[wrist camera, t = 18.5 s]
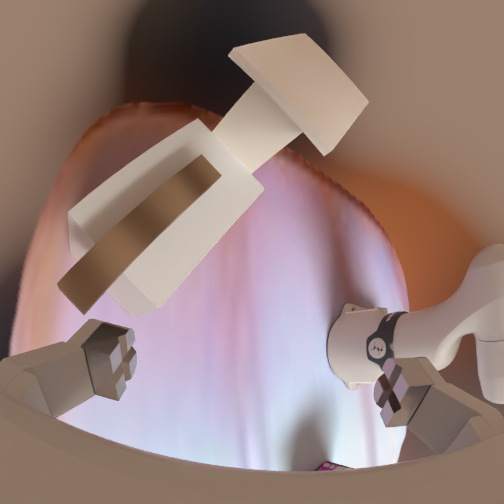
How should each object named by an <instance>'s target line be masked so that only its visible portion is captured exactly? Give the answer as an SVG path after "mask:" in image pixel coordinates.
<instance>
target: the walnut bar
mask: <svg viewBox="0 0 504 504" xmlns="http://www.w3.org/2000/svg"><path fill="white" fill-rule="evenodd" d="M221 176H222V175H221V174H220V173H219V172H218V171H217V170H216V169H215V168H214V167H213V166H212V165H211V164H210V163H209V161H208V160H207V159H206V158H205V157H204V156H203V155H202V154H201V155H200V156H198V157H197V158H196V159H194V160H193V161H192V162H191V163H189V164H188V165H187V166H185V167H184V168H183V169H181V170H180V171H179V172H178V173H176V174H175V175H174V176H173V177H171V178H170V179H169V180H168V181H166V182H165V183H164V184H163V185H161V186H160V187H159V188H158V189H157V190H155V191H154V192H153V193H152V194H151V195H149V196H148V197H147V198H146V199H145V200H144V201H142V202H141V203H140V204H139V205H138V206H137V207H135V208H134V209H133V210H132V211H131V212H130V213H129V214H128V215H126V216H125V217H124V218H123V219H122V220H121V221H120V222H119V223H118V224H116V225H115V226H114V227H113V228H112V229H111V230H110V231H109V232H108V233H107V234H106V235H105V236H104V237H102V238H101V239H100V240H99V241H98V242H97V243H96V244H95V245H94V246H93V247H92V248H91V249H90V250H89V251H88V252H87V253H86V254H85V255H84V256H83V257H82V258H81V259H80V260H79V261H78V262H77V263H76V264H75V265H74V266H73V267H72V268H71V269H70V270H69V271H68V272H67V273H66V274H65V275H64V277H63V278H62V279H61V280H60V281H59V282H58V283H57V285H58V287H59V289H60V290H61V291H62V292H63V294H64V295H65V296H66V297H67V298H68V299H69V300H70V301H71V302H72V303H73V304H74V305H75V306H76V307H77V308H78V310H79V311H80V312H81V313H82V314H83V315H85V314H86V313H87V312H88V310H89V309H90V308H91V307H92V306H93V305H94V304H95V303H96V301H97V300H98V299H99V298H100V297H101V296H102V295H103V294H104V293H105V291H106V290H107V289H108V288H109V287H110V286H111V285H112V284H113V283H114V282H115V281H116V280H117V278H118V277H119V276H120V275H121V274H122V273H123V272H124V271H125V270H126V269H127V268H128V267H129V266H130V265H131V264H132V263H133V262H134V261H135V260H136V259H137V258H138V257H139V256H140V254H141V253H142V252H143V251H144V250H145V249H146V248H147V247H148V246H149V245H150V244H151V243H152V242H153V241H154V240H155V239H156V238H157V237H158V236H159V235H160V234H161V233H162V232H164V231H165V230H166V229H167V228H168V227H169V226H170V225H171V224H172V223H173V222H174V221H175V220H176V219H177V218H178V217H179V216H180V215H181V214H182V213H183V212H184V211H185V210H186V209H188V208H189V207H190V206H191V205H192V204H193V203H194V202H195V201H196V200H197V199H198V198H199V197H200V196H202V195H203V194H204V193H205V192H206V191H207V190H208V189H209V188H210V187H211V186H212V185H213V184H214V183H215V182H216V181H217V180H218V179H219V178H220V177H221Z"/></svg>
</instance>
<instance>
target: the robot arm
mask: <svg viewBox="0 0 504 504" xmlns="http://www.w3.org/2000/svg"><path fill="white" fill-rule="evenodd" d="M469 333H474V335H475V338H476V348H477V362H478V375H479V379H480V384H481V388H482V391H483V395H484V397H485V398H486V399H487V400H489V401H491V402H493V403H498V404H504V244H496V245H492V246H489V247H487V248H485V249H483V250H482V251H481V252H479V253H478V254H477V255H476V257H475V258H474V259H473V261H472V262H471V264H470V266H469V268H468V271H467V274H466V277H465V279H464V281H463V282H462V284H461V286H460V287H459V289H458V290H457V291H456V292H455V293H454V294H453V295H452V296H451V297H450V298H449V299H448V300H446V301H445V302H443V303H441V304H439V305H437V306H434V307H431V308H427V309H424V310H420V311H415V312H410V313H408V312H405V311H403V312H394V313H390V314H388V313H387V308H374V309H367V308H364V307H360V306H357V305H353V304H345V305H344V307H343V310H342V313H341V315H340V317H339V318H338V319H337V320H336V322H335V323H334V325H333V326H332V329H331V331H330V334H329V338H328V359H329V363H330V366H331V368H332V370H333V372H334V373H335V375H336V376H337V377H338V378H340V379H341V380H343V381H344V382H345V384H346V386H347V388H348V389H349V390H355V389H357V388H358V387H360V386H361V385H363V384H364V383H376V384H375V386H374V399H375V402H376V404H377V405H378V406H379V407H381V408H382V410H381V413H380V415H381V417H382V419H383V422H384V424H385V427H397V426H407V427H408V428H409V429H410V430H411V431H412V432H413V433H414V434H416V435H417V436H418V437H419V438H420V439H421V440H422V441H423V442H424V443H426V444H427V445H428V446H429V447H430V448H431V449H432V450H433V451H435V452H436V453H437V454H438V455H434V456H430V457H426V458H421V459H417V460H411V461H406V462H401V463H395V464H389V465H383V466H375V467H367V468H358V469H347V470H332V471H268V470H253V469H242V468H233V467H224V466H217V465H210V464H204V463H198V462H192V461H187V460H182V459H177V458H173V457H168V456H164V455H160V454H155V453H152V452H148V451H144V450H140V449H137V448H133V447H130V446H127V445H123V444H120V443H117V442H114V441H111V440H108V439H105V438H102V437H100V436H97V435H94V434H91V433H89V432H86V431H84V430H81V429H79V428H76V427H74V426H71V425H69V424H67V423H64V422H62V421H60V420H58V419H56V417H58V416H60V415H62V414H64V413H65V412H67V411H69V410H71V409H72V408H74V407H76V406H78V405H79V404H81V403H83V402H85V401H86V400H88V399H90V398H91V397H93V396H95V394H96V395H99V396H102V397H106V398H109V399H113V400H116V401H119V400H120V398H121V396H122V394H123V393H124V391H125V389H126V383H125V381H128V380H130V379H131V378H132V376H133V374H134V372H135V368H136V363H137V355H136V351H135V350H134V348H133V347H132V345H133V343H134V342H135V335H134V331H133V330H132V329H130V328H126V327H122V326H118V325H115V324H111V323H107V322H103V321H99V320H95V319H89V320H88V321H87V322H86V323H85V324H84V325H83V326H82V327H81V328H80V329H79V330H78V331H77V332H76V333H75V334H74V335H73V336H72V337H71V338H70V339H69V340H68V341H67V342H66V343H65V342H59V343H56V344H52V345H49V346H45V347H42V348H39V349H35V350H32V351H29V352H25V353H22V354H18V355H15V356H11V357H8V358H4V359H3V360H2V361H1V362H0V504H504V418H503V417H502V416H501V414H500V413H499V412H498V410H497V409H495V408H493V407H491V406H490V405H488V404H486V403H484V402H482V401H481V400H479V399H477V398H475V397H473V396H472V395H470V394H468V393H466V392H464V391H463V390H461V389H459V388H457V387H455V386H453V385H452V384H450V383H447V384H446V382H445V381H444V380H443V378H442V377H441V375H440V374H439V373H438V370H441V369H443V368H445V367H446V366H447V365H449V364H450V363H451V361H452V360H453V359H454V357H455V355H456V353H457V350H458V347H459V345H460V341H461V338H462V336H463V335H466V334H469Z"/></svg>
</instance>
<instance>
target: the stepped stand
mask: <svg viewBox="0 0 504 504" xmlns="http://www.w3.org/2000/svg"><path fill="white" fill-rule="evenodd" d="M228 57H230V58H231V59H232V60H233V61H234V62H235V63H236V64H237V65H239V66H240V67H241V68H242V69H243V70H244V71H245V72H246V73H247V74H248V75H249V76H250V77H251V78H252V79H253V80H254V81H255V82H254V83H253V84H252V86H251V87H250V88H249V89H248V90H247V91H246V92H245V93H244V94H243V96H242V97H241V98H240V99H239V100H238V101H237V102H236V104H235V105H234V106H233V107H232V108H231V110H230V111H229V112H228V113H227V114H226V115H225V117H224V118H223V119H222V120H221V121H220V123H219V124H218V125H217V126H216V128H215V129H214V130H213V131H212V132H211V131H210V130H209V129H208V128H207V127H206V126H205V125H204V124H203V123H202V122H201V121H200V120H199V119H196V120H194V121H193V122H191V123H189V124H188V125H186V126H184V127H183V128H181V129H179V130H178V131H176V132H175V133H173V134H171V135H170V136H168V137H167V138H165V139H164V140H162V141H161V142H159V143H158V144H156V145H155V146H153V147H152V148H150V149H149V150H147V151H146V152H144V153H143V154H141V155H140V156H138V157H137V158H136V159H134V160H133V161H131V162H130V163H129V164H127V165H126V166H125V167H123V168H122V169H120V170H119V171H118V172H116V173H115V174H114V175H112V176H111V177H110V178H109V179H107V180H106V181H105V182H103V183H102V184H101V185H100V186H98V187H97V188H96V189H95V190H93V191H92V192H91V193H90V194H88V195H87V196H86V197H85V198H84V199H82V200H81V201H80V202H79V203H78V204H76V205H75V206H74V207H73V208H72V209H71V210H70V211H68V226H69V241H70V253H71V256H72V257H73V258H74V259H75V260H76V261H77V262H78V261H79V260H80V259H81V258H82V257H83V256H84V255H85V254H86V253H87V252H88V251H89V250H90V249H91V248H92V247H93V246H94V245H95V244H96V243H97V242H98V241H99V240H100V239H101V238H102V237H104V236H105V235H106V234H107V233H108V232H109V231H110V230H111V229H112V228H113V227H114V226H115V225H116V224H118V223H119V222H120V221H121V220H122V219H123V218H124V217H125V216H126V215H128V214H129V213H130V212H131V211H132V210H133V209H134V208H135V207H137V206H138V205H139V204H140V203H141V202H142V201H144V200H145V199H146V198H147V197H148V196H149V195H151V194H152V193H153V192H154V191H155V190H157V189H158V188H159V187H160V186H161V185H163V184H164V183H165V182H166V181H168V180H169V179H170V178H171V177H173V176H174V175H175V174H176V173H178V172H179V171H180V170H181V169H183V168H184V167H185V166H187V165H188V164H189V163H191V162H192V161H193V160H194V159H196V158H197V157H198V156H200V155H201V154H202V155H203V156H204V157H205V158H206V159H207V160H208V161H209V163H210V164H211V165H212V166H213V167H214V168H215V169H216V170H217V171H218V172H219V173H220V174H221V175H222V176H221V177H220V178H219V179H218V180H217V181H216V182H215V183H214V184H213V185H212V186H211V187H210V188H209V189H208V190H207V191H206V192H205V193H204V194H203V195H202V196H200V197H199V198H198V199H197V200H196V201H195V202H194V203H193V204H192V205H191V206H190V207H189V208H188V209H186V210H185V211H184V212H183V213H182V214H181V215H180V216H179V217H178V218H177V219H176V220H175V221H174V222H173V223H172V224H171V225H170V226H169V227H168V228H167V229H166V230H165V231H164V232H162V233H161V234H160V235H159V236H158V237H157V238H156V239H155V240H154V241H153V242H152V243H151V244H150V245H149V246H148V247H147V248H146V249H145V250H144V251H143V252H142V253H141V254H140V256H139V257H138V258H137V259H136V260H135V261H134V262H133V263H132V264H131V265H130V266H129V267H128V268H127V269H126V270H125V271H124V272H123V273H122V274H121V275H120V276H119V277H118V278H117V280H116V281H115V282H114V283H113V284H112V285H111V286H110V287H109V288H108V289H107V290H106V291H105V292H106V293H107V294H108V295H109V296H110V297H111V298H112V299H113V300H114V301H115V302H116V303H117V304H118V305H119V306H120V307H121V308H122V309H123V310H124V311H125V312H126V313H127V314H128V315H129V316H130V317H131V318H132V317H135V316H139V315H142V314H145V313H148V312H151V311H154V310H157V309H160V308H161V306H162V305H163V304H164V303H165V302H166V301H167V299H168V298H169V297H170V296H171V295H172V293H173V292H174V291H175V290H176V289H177V288H178V286H179V285H180V284H181V283H182V282H183V281H184V279H185V278H186V277H187V276H188V275H189V274H190V273H191V271H192V270H193V269H194V268H195V267H196V266H197V264H198V263H199V262H200V261H201V260H202V259H203V258H204V256H205V255H206V254H207V253H208V252H209V251H210V250H211V249H212V247H213V246H214V245H215V244H216V243H217V242H218V241H219V239H220V238H221V237H222V236H223V235H224V234H225V233H226V232H227V230H228V229H229V228H230V227H231V226H232V225H233V224H234V223H235V222H236V220H237V219H238V218H239V217H240V216H241V215H242V214H243V213H244V212H245V210H246V209H247V208H248V207H249V206H250V205H251V204H252V203H253V202H254V201H255V200H256V198H257V197H258V196H259V195H260V194H261V193H262V192H263V191H264V190H265V188H264V187H263V186H262V185H261V184H260V183H259V182H258V181H257V180H256V179H255V177H254V176H253V175H252V173H253V172H254V171H255V170H256V169H258V168H259V167H260V166H261V165H262V164H264V163H265V162H266V161H267V160H268V159H270V158H271V157H272V156H273V155H275V154H276V153H277V152H278V151H280V150H281V149H282V148H283V147H285V146H286V145H287V144H288V143H290V142H291V141H292V140H293V139H295V138H296V137H297V136H298V135H300V134H301V133H302V132H304V133H305V135H306V136H307V137H308V138H309V139H310V140H311V142H312V143H313V144H314V145H315V146H316V147H317V148H318V150H319V151H320V152H321V153H322V154H323V156H325V155H326V154H328V153H329V152H331V151H332V150H333V149H334V147H335V146H336V145H337V144H338V142H339V141H340V140H341V138H342V137H343V136H344V134H345V133H346V132H347V130H348V129H349V128H350V126H351V125H352V123H353V122H354V121H355V120H356V118H357V117H358V116H359V115H360V113H361V111H363V109H364V108H365V107H366V105H367V104H368V103H369V101H368V100H367V99H366V98H365V97H364V95H363V94H362V93H361V92H360V91H359V89H358V88H357V87H356V86H355V85H354V84H353V82H352V81H351V80H350V79H349V78H348V77H347V76H346V74H345V73H344V72H343V71H342V70H341V69H340V68H339V67H338V66H337V65H336V64H335V63H334V62H333V60H332V59H331V58H330V57H329V56H328V55H327V54H326V53H325V52H324V51H323V50H322V49H321V48H320V47H319V46H318V45H317V44H316V43H315V42H314V41H313V40H312V39H311V38H309V37H308V36H307V35H306V34H297V35H292V36H285V37H280V38H275V39H270V40H265V41H260V42H256V43H252V44H247V45H243V46H240V47H236V48H233V50H232V51H231V52H230V53H229V55H228Z"/></svg>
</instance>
